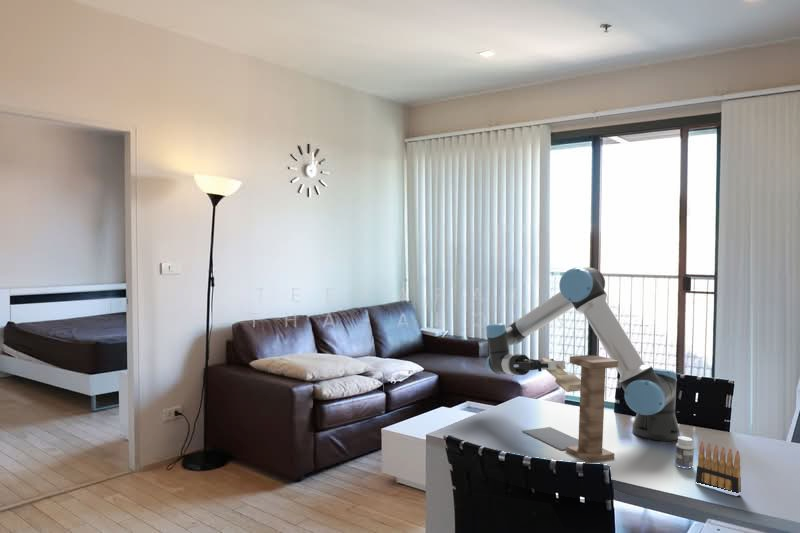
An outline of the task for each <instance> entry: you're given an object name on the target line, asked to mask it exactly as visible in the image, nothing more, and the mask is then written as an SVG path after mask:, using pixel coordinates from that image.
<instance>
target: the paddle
mask: <svg viewBox="0 0 800 533" xmlns="http://www.w3.org/2000/svg"><path fill="white" fill-rule="evenodd" d="M551 359H552V358H549V357H541V359H540V360H541V361H540V360H539V361H540V362H541V363H542V362H543V361H551V362H553V361H552V360H551ZM546 371H547V373H549V374H550V375H551V376H553V377H554V378H555V381H554V382H555V383H556V384H557V386H559V387H560V388H562V389H563V390H564V391H565V392H566V393H570V392H571V393H572V392H580V387H581V378H579V377H578V376H576V375H575V374H574V373H567V372H566V371H565V369H562V368H560V367H559V366H558V365H557V370H546Z"/></svg>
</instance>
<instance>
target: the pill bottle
mask: <svg viewBox="0 0 800 533" xmlns="http://www.w3.org/2000/svg"><path fill="white" fill-rule="evenodd" d="M676 441H677V443H676V444H675V458H674V459H675V460H674V462H675V463H674V464H675V466H676V465H677V467H678V466H680V467H685V468H689V467H692V466H693V467H694V451H695V448H694V446H693V444H694V443H693V441H694V440H693V438H691V437H689V436H684V435H680V436H679V437H678V440H676ZM680 467H679V468H680ZM685 468H684V469H685Z"/></svg>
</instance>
